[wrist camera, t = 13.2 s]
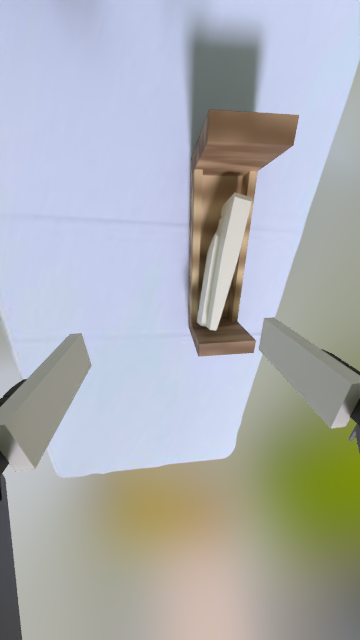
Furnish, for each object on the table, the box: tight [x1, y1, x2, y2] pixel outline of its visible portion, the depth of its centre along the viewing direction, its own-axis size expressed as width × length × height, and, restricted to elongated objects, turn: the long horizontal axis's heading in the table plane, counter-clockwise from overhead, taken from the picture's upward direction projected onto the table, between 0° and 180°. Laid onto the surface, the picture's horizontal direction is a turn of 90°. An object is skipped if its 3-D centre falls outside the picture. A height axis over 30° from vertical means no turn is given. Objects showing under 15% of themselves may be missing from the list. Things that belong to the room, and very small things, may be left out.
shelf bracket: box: [197, 193, 252, 331], centre depth 39 cm, size 6×25×13 cm, turn 168°
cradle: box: [189, 110, 299, 356], centre depth 36 cm, size 37×12×14 cm, turn 0°
